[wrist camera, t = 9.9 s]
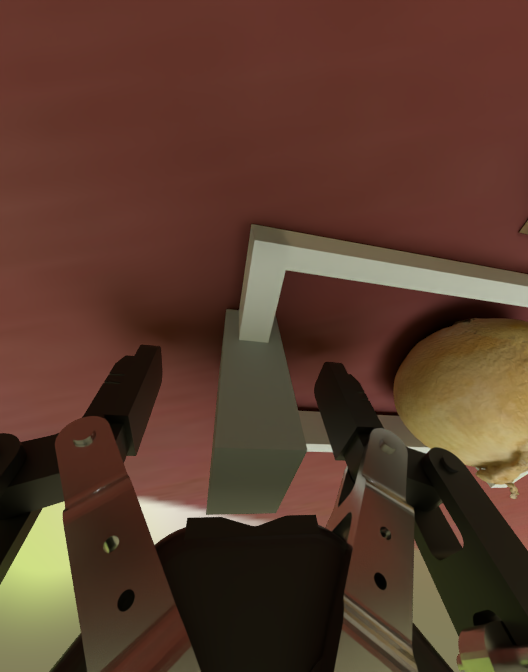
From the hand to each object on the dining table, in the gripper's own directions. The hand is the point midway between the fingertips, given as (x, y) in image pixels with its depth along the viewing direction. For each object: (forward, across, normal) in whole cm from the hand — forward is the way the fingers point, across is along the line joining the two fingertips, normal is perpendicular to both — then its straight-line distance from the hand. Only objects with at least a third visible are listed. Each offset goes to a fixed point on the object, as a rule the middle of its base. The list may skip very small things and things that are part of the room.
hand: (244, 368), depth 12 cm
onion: (+2, -12, 0) cm, 13 cm away
